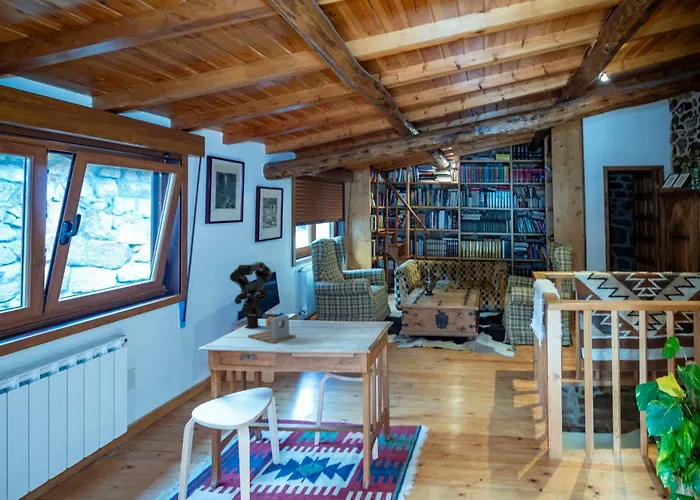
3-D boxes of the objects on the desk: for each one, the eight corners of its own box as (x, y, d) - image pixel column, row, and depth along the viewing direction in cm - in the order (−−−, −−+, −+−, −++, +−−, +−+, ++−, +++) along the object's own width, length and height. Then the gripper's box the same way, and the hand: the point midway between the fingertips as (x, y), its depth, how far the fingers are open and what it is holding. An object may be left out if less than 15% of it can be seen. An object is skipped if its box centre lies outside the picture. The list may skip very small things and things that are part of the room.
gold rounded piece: (265, 327, 253) (265, 317, 252) (273, 325, 256) (273, 315, 256) (276, 329, 247) (275, 319, 247) (284, 327, 251) (283, 317, 251)
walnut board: (247, 337, 255) (247, 335, 255) (270, 331, 266) (270, 329, 266) (272, 343, 242) (272, 341, 242) (295, 337, 253) (295, 335, 253)
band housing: (270, 338, 247) (270, 318, 247) (284, 335, 254) (284, 314, 253) (275, 339, 245) (274, 318, 244) (289, 336, 252) (288, 315, 251)
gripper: (236, 278, 255) (250, 302, 248) (265, 274, 269) (279, 296, 262) (228, 292, 261) (241, 315, 254) (257, 287, 275) (270, 309, 268)
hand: (259, 308), depth 260 cm, fingers closed
